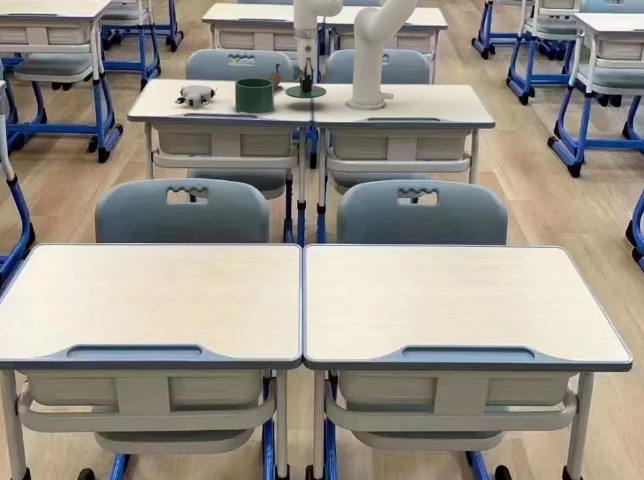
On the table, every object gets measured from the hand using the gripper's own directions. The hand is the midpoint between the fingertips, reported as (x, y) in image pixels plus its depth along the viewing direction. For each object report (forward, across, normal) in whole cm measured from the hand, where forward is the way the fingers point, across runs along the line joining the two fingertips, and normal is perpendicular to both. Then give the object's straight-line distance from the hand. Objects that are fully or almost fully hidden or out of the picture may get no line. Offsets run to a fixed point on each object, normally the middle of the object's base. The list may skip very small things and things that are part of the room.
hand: (305, 89), depth 272 cm
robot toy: (+5, +9, +36) cm, 38 cm away
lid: (+1, 0, 0) cm, 1 cm away
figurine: (+6, +24, +7) cm, 26 cm away
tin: (+6, 0, +18) cm, 18 cm away
